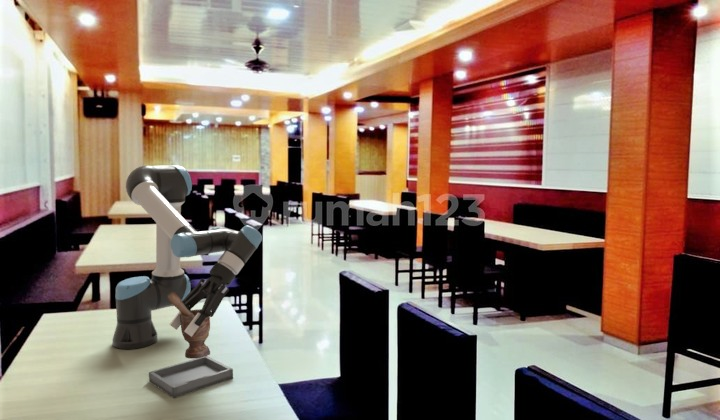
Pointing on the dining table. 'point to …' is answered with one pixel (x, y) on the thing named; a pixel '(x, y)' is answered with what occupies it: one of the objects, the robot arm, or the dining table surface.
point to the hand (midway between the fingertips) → (180, 330)
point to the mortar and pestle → (197, 340)
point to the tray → (190, 376)
